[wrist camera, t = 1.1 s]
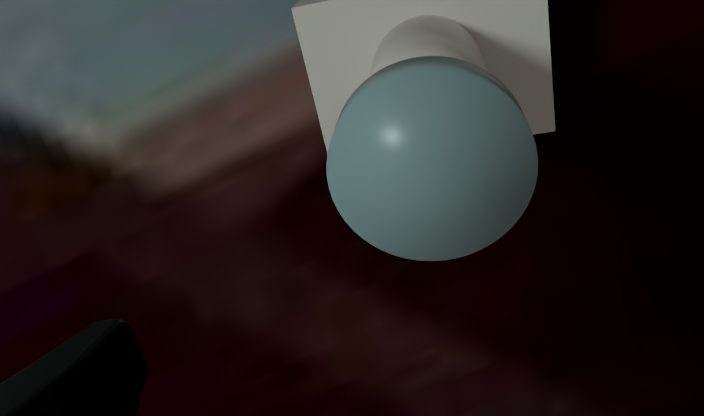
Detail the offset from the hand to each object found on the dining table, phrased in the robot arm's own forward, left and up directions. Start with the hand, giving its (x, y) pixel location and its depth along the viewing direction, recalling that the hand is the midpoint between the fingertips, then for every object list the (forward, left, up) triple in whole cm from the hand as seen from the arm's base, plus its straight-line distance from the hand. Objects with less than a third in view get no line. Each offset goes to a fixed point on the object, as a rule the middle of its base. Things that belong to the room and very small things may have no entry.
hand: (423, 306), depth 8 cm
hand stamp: (0, 0, -13) cm, 13 cm away
